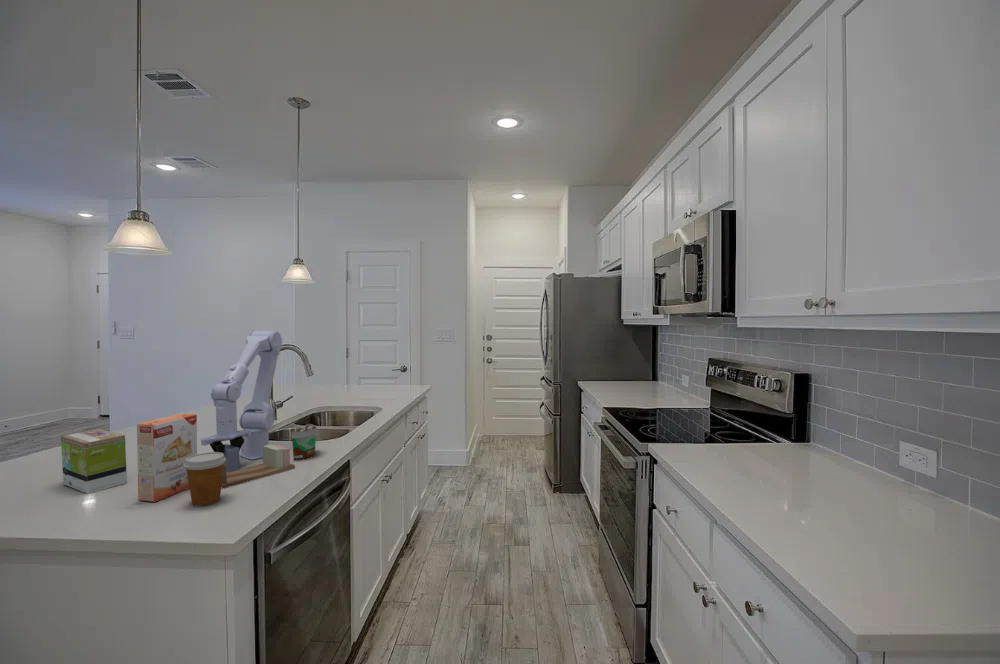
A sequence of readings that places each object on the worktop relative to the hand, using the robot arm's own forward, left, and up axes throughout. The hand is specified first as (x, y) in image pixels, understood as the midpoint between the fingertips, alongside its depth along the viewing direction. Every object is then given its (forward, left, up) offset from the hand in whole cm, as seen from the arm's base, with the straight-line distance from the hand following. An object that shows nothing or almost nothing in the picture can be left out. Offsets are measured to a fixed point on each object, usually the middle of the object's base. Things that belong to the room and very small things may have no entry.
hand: (227, 462), depth 153 cm
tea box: (-17, -29, -2) cm, 34 cm away
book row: (+11, +10, -1) cm, 15 cm away
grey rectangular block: (0, 0, -2) cm, 2 cm away
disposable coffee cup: (+23, -16, -2) cm, 28 cm away
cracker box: (+8, -19, -2) cm, 21 cm away
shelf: (+12, +2, -2) cm, 12 cm away
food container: (+9, +23, -2) cm, 25 cm away
